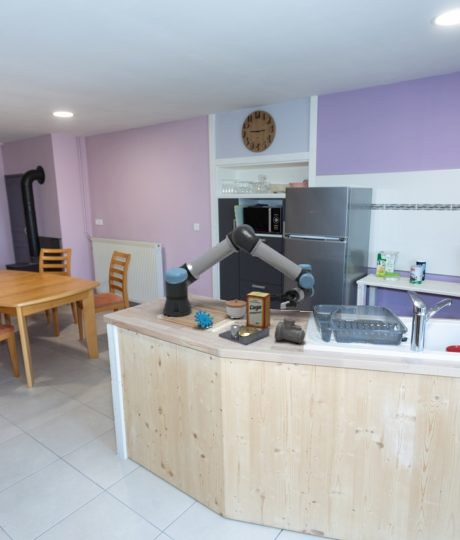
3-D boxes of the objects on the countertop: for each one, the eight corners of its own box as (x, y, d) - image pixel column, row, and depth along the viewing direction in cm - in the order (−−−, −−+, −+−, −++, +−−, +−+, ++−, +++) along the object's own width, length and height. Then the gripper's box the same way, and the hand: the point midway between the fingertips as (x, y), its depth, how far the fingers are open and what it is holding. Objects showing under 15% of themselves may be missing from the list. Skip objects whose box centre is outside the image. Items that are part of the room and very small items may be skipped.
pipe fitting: (272, 341, 165) (275, 318, 163) (278, 336, 172) (282, 314, 170) (299, 348, 160) (303, 325, 158) (304, 344, 167) (308, 321, 165)
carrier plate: (218, 336, 172) (218, 323, 171) (242, 327, 184) (242, 315, 183) (246, 345, 162) (246, 331, 161) (269, 335, 173) (269, 322, 172)
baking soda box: (269, 325, 187) (270, 292, 184) (264, 329, 181) (265, 296, 178) (252, 322, 191) (252, 290, 188) (246, 326, 186) (246, 293, 183)
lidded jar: (221, 317, 200) (221, 299, 199) (237, 313, 207) (236, 296, 206) (235, 321, 192) (235, 303, 191) (250, 317, 199) (250, 299, 198)
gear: (200, 328, 179) (192, 309, 183) (194, 334, 182) (187, 316, 187) (218, 326, 186) (211, 308, 190) (212, 332, 189) (205, 315, 194)
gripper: (314, 307, 199) (290, 316, 183) (274, 299, 215) (250, 306, 200) (314, 292, 197) (291, 301, 182) (274, 285, 214) (250, 292, 199)
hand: (269, 304), depth 191 cm, fingers open, 13 cm apart
